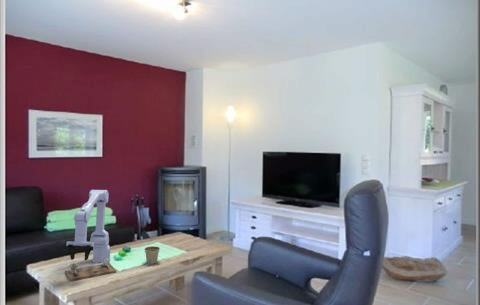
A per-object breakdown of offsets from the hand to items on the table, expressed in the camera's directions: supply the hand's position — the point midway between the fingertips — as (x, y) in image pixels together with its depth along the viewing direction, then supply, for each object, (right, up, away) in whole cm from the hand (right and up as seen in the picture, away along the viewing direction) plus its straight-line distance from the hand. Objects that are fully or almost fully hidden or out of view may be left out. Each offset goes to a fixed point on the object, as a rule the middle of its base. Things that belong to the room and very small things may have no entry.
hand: (79, 259), depth 187 cm
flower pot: (+32, -11, +28) cm, 44 cm away
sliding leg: (+9, -8, +15) cm, 19 cm away
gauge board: (+2, -10, +9) cm, 14 cm away
